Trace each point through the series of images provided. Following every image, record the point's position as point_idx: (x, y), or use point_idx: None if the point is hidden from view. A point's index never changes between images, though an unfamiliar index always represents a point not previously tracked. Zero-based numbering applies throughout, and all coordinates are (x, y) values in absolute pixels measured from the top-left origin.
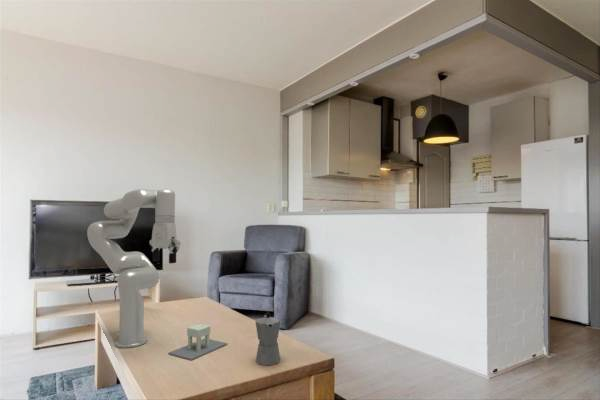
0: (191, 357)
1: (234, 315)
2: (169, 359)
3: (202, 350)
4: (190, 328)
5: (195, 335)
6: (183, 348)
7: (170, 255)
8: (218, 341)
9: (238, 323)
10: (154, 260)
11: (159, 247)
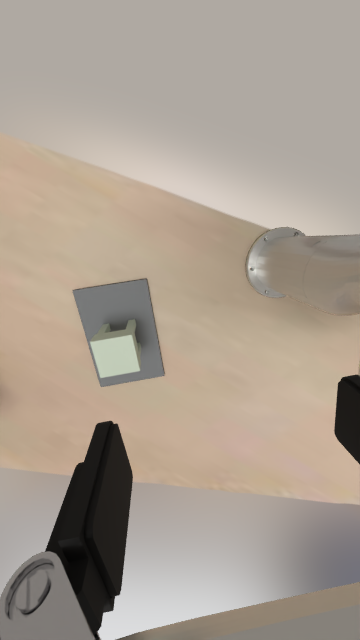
0: (81, 295)
1: (243, 485)
2: (116, 264)
3: None
4: (121, 337)
5: (104, 334)
6: (144, 314)
7: (70, 511)
8: (125, 381)
9: (195, 464)
10: (345, 390)
11: (323, 612)
